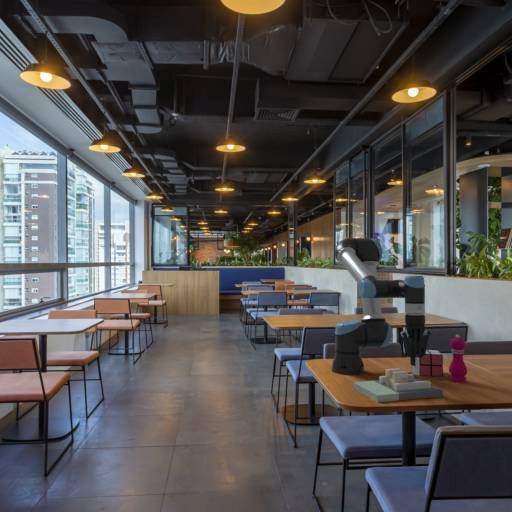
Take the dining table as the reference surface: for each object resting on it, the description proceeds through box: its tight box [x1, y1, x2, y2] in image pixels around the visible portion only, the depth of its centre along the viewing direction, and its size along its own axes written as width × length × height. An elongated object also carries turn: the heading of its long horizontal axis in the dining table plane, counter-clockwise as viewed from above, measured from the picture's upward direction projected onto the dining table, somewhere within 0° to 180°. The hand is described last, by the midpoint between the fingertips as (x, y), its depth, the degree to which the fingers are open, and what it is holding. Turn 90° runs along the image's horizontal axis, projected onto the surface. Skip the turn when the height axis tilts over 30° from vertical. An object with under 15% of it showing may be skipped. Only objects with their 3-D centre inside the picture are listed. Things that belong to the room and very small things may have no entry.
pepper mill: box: [448, 334, 468, 384], centre depth 184 cm, size 7×7×20 cm
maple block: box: [385, 367, 409, 388], centre depth 167 cm, size 6×6×6 cm
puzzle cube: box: [419, 349, 444, 378], centre depth 196 cm, size 10×10×10 cm
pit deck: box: [352, 373, 444, 403], centre depth 167 cm, size 18×28×5 cm, turn 105°
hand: (415, 373), depth 169 cm, fingers closed
